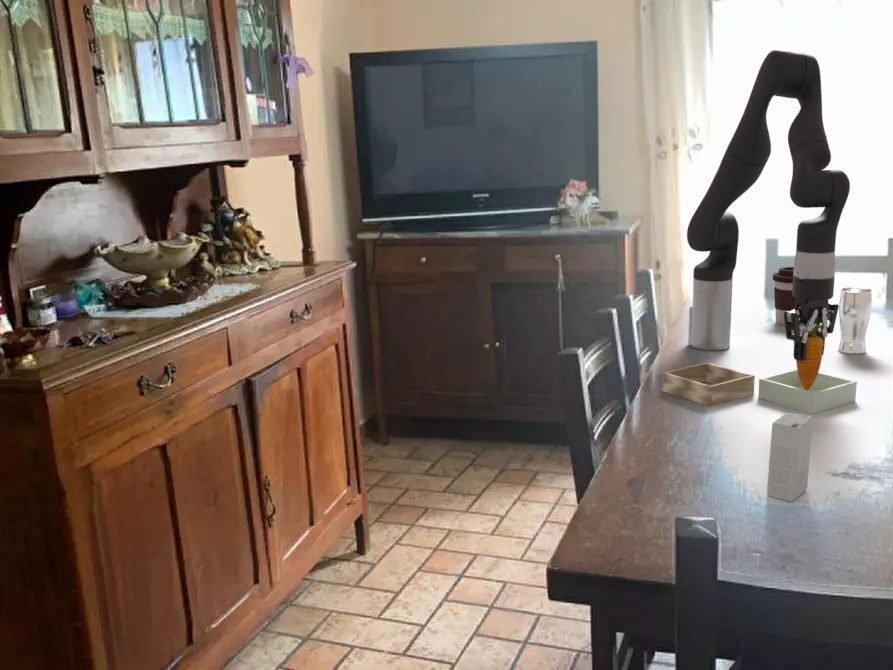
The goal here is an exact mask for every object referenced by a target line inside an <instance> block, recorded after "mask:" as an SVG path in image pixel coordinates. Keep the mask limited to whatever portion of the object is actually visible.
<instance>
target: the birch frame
mask: <svg viewBox="0 0 893 670" xmlns="http://www.w3.org/2000/svg"><path fill="white" fill-rule="evenodd" d="M755 377H756V375H754V374H751V373H747V372H742V371H740V370H736V369H733V368H728V367H725V366H721V365H717V364H714V363H710V362H702V363H699V364H694V365H689V366H686V367H682V368H677V369H673V370H669V371H664V372H662V392H664V393H667V394H672V395H673V396H677V397H680V398H682V399H683V398H684V399H687V400H689V401H692V402H696V403H699V404H701V405H704V406H707V407H711V406H715V405H719V404H723V403H726V402H730V401H733V400H738V399H741V398H745V397H748V396H753V395H755V379H756V378H755ZM704 382H708V383H711V385H708V384H706V383H704Z"/></svg>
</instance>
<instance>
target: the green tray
mask: <svg viewBox="0 0 893 670" xmlns="http://www.w3.org/2000/svg"><path fill="white" fill-rule="evenodd" d="M857 383H858V382H857V381H855V380H852V379H847V378H844V377H839V376H835V375H831V374H827V373H823V372H820V371H819V372H818V375H817V377H816V379H815V382H814V383H813V385H812V386H811V388H810V389H809V390H807V391H806V390H805V389H804V388H803V386H802V384H801V381H800V378H799V375H798V370H797V368H795V369H791V370H788V371H784V372H779V373H776V374H771V375H768V376H765V377H764V376H763V377H761V378H759V379H758V396H757V397H758V398H759V399H763V400H766V401H769V402H772V403H775V404H776V403H777V404H778V405H783V406H784V407H785V406H786V407H788V408H789V407H790V408H792V409H796V410H799V411H803V412H806V413H810V414H812V415H814V414H817V413H820V412H823V411H826V410H830V409H832V408H836V407H840V406H843V405H846V404H849V403H854V402H856V397H857V396H856V394H857Z"/></svg>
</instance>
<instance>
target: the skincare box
mask: <svg viewBox="0 0 893 670" xmlns="http://www.w3.org/2000/svg"><path fill="white" fill-rule="evenodd" d="M813 420H814V419H813V417H812V416H809V415H804V414H798V413H792V412H785V413H784V414H782V415H781V416H780V417H779V418H777V419H776V420H775V421H773V422H772V424H771V435H770V436H771V437H770V449H769V459H768V460H769V462H768V475H767V488H766V489H767V490H766V495H767V496H768V497H771V498H774V499H778V500H782V501H787V502H791V503H793V502H794V501H796V499H798V498H799V497H800V496H801V495H802V494H803V493H805V491H806V490H807V489H808V484H809V483H808V481H809V472H810V471H809V470H810V469H809V468H810V459H811V458H810V457H811V445H812V434H813V432H812V431H813V422H814V421H813Z"/></svg>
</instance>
